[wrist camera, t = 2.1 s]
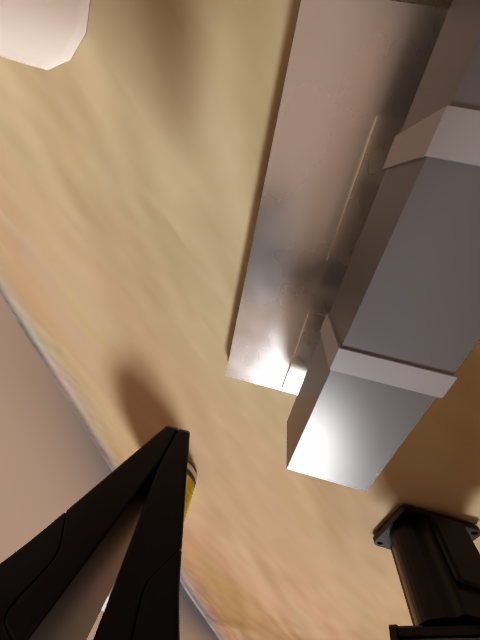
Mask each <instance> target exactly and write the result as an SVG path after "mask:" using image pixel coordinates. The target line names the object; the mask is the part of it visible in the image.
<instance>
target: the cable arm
mask: <svg viewBox="0 0 480 640" xmlns="http://www.w3.org/2000/svg"><path fill="white" fill-rule="evenodd" d="M383 169H385V170H386V171H385V174H384V176H383V179H382V181H381V184H380V186H379V189H378V192H377V194H376V197H375V199H374V202H373V204H372V207H371V209H370V212H369V214H368V217H367V220H366V222H365V225H364V227H363V230H362V232H361V235H360V237H359V240H358V242H357V245H356V248H355V250H354V253H353V255H352V258H351V260H350V263H349V265H348V268H347V270H346V273H345V276H344V278H343V281H342V283H341V286H340V288H339V291H338V293H337V296H336V298H335V301H334V304H333V306H332V309H331V311H330V313H327V314H326V317H325V319H324V322H323V324H322V327H321V329H320V332H321V337H320V339H319V342H318V344H317V347H316V349H315V352H314V354H313V357H312V359H311V362H310V365H309V367H308V370H307V372H306V375H305V377H304V380H303V382H302V385H301V387H300V390H299V393H298V395H297V398H296V400H295V403H294V405H293V408H292V410H291V413H290V415H289V418H288V421H287V469H289V470H292V471H296V472H299V473H303V474H306V475H310V476H313V477H317V478H320V479H324V480H327V481H331V482H334V483H337V484H341V485H344V486H348V487H351V488H355V489H358V490H362V491H365V492H366V491H367V490H368V488H369V487H370V486H371V484H372V483H373V482H374V480H375V479H376V478H377V476H378V475H379V474H380V472H381V471H382V470H383V468H384V467H385V466H386V464H387V463H388V462H389V460H390V459H391V458H392V456H393V455H394V454H395V452H396V451H397V450H398V448H399V447H400V446H401V444H402V443H403V442H404V440H405V439H406V438H407V436H408V435H409V434H410V432H411V431H412V430H413V428H414V427H415V426H416V424H417V423H418V422H419V420H420V419H421V418H422V416H423V415H424V414H425V412H426V411H427V410H428V408H429V407H430V406H431V404H432V403H433V402H434V400H435V399H436V398H437V397H438V398H443V397H444V395H445V394H446V393H447V391H448V390H449V389H450V387H451V386H452V385H453V384H454V382H455V381H456V380H457V377H456V375H455V372H456V371H457V370H458V368H459V367H460V366H461V364H462V363H463V362H464V360H465V359H466V358H467V356H468V355H469V354H470V352H471V351H472V350H473V348H474V347H475V346H476V344H477V343H478V342H479V340H480V0H453V1H452V3H451V6H450V8H449V11H448V13H447V16H446V18H445V21H444V24H443V26H442V29H441V31H440V34H439V36H438V39H437V41H436V44H435V46H434V49H433V52H432V54H431V57H430V59H429V62H428V64H427V67H426V69H425V72H424V74H423V77H422V80H421V82H420V85H419V87H418V90H417V92H416V95H415V97H414V100H413V102H412V105H411V108H410V110H409V113H408V115H407V118H406V120H405V123H404V125H403V128H402V130H401V133H400V134H398V135H396V136H395V138H394V141H393V143H392V146H391V148H390V151H389V154H388V156H387V159H386V161H385V164H384V167H383Z"/></svg>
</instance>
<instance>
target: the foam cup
mask: <svg viewBox="0 0 480 640" xmlns="http://www.w3.org/2000/svg"><path fill="white" fill-rule="evenodd" d="M89 4H90V0H0V56H1V57H4V58H7V59H10V60H14V61H18V62H21V63H23V64H27V65H30V66H34V67H38V68H42V69H45V70H49V69H52V68H54V67H56V66H58V65H60V64H63V63H65V62H67V61H69V60H71V58H72V56H73V55H74V53H75V51H76V49H77V48H78V46H79V44H80V42H81V41H82V39H83V37H84V35H85V34H86V28H87V20H88V12H89Z"/></svg>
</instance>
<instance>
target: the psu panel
mask: <svg viewBox="0 0 480 640" xmlns="http://www.w3.org/2000/svg"><path fill="white" fill-rule="evenodd" d="M448 11H449V9H447V8H441V7H434V6H427V5H420V4H413V3H406V2H399V1H392V0H301V3H300V8H299V13H298V18H297V23H296V28H295V33H294V38H293V43H292V48H291V53H290V58H289V63H288V68H287V73H286V78H285V83H284V88H283V93H282V98H281V103H280V108H279V113H278V118H277V122H276V127H275V132H274V137H273V142H272V147H271V152H270V157H269V162H268V167H267V172H266V177H265V182H264V187H263V192H262V197H261V202H260V207H259V212H258V217H257V222H256V227H255V232H254V237H253V242H252V247H251V252H250V257H249V262H248V267H247V272H246V276H245V281H244V286H243V291H242V296H241V301H240V306H239V311H238V316H237V321H236V326H235V331H234V336H233V341H232V346H231V351H230V356H229V361H228V366H227V371H226V376H228V377H232V378H236V379H240V380H243V381H247V382H251V383H255V384H258V385H262V386H266V387H270V388H274V389H277V390H281V391H285V392H289V393H292V394H296V395H298V393H299V390H300V387H301V385H302V382H303V380H304V377H305V375H306V372H307V370H308V367H309V365H310V362H311V359H312V357H313V354H314V352H315V349H316V347H317V344H318V342H319V339H320V337H321V332H320V329H321V327H322V324H323V322H324V319H325V317H326V314H327V313H330V311H331V309H332V306H333V304H334V301H335V298H336V296H337V293H338V291H339V288H340V286H341V283H342V281H343V278H344V276H345V273H346V270H347V268H348V265H349V263H350V260H351V258H352V255H353V253H354V250H355V248H356V245H357V242H358V240H359V237H360V235H361V232H362V230H363V227H364V225H365V222H366V220H367V217H368V214H369V212H370V209H371V207H372V204H373V202H374V199H375V197H376V194H377V192H378V189H379V186H380V184H381V181H382V179H383V176H384V174H385V171H386V170H385V169H383V167H384V164H385V161H386V159H387V156H388V154H389V151H390V148H391V146H392V143H393V141H394V138H395V136H396V135H398V134H400V133H401V130H402V128H403V125H404V123H405V120H406V118H407V115H408V113H409V110H410V108H411V105H412V102H413V100H414V97H415V95H416V92H417V90H418V87H419V85H420V82H421V80H422V77H423V74H424V72H425V69H426V67H427V64H428V62H429V59H430V57H431V54H432V52H433V49H434V46H435V44H436V41H437V39H438V36H439V34H440V31H441V29H442V26H443V24H444V21H445V18H446V16H447V13H448Z"/></svg>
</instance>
